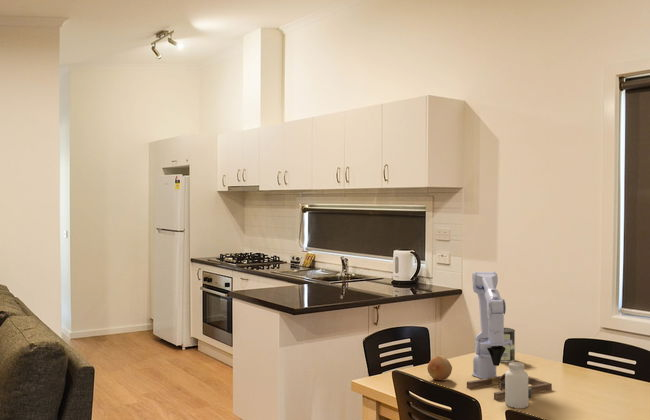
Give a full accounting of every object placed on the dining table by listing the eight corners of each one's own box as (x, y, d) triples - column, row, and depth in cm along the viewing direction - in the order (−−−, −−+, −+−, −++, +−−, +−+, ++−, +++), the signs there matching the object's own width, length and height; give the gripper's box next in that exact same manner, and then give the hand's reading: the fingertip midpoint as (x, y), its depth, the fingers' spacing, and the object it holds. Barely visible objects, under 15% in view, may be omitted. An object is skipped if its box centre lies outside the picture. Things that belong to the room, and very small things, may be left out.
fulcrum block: (523, 397, 229) (523, 388, 229) (523, 395, 231) (523, 386, 231) (531, 398, 228) (531, 389, 228) (531, 395, 231) (531, 387, 231)
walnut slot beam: (466, 387, 241) (466, 381, 241) (519, 378, 253) (519, 372, 253) (496, 400, 226) (496, 393, 226) (551, 389, 238) (551, 383, 238)
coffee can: (506, 356, 290) (506, 326, 290) (519, 361, 280) (519, 331, 280) (487, 357, 287) (487, 328, 287) (499, 363, 277) (499, 332, 277)
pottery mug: (530, 396, 232) (521, 378, 230) (507, 405, 234) (498, 388, 233) (524, 379, 244) (515, 362, 242) (502, 388, 246) (493, 371, 244)
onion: (453, 383, 246) (453, 359, 246) (428, 383, 248) (428, 358, 247) (451, 377, 256) (451, 353, 256) (426, 376, 257) (426, 352, 257)
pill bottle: (501, 402, 223) (501, 361, 223) (521, 400, 225) (521, 360, 224) (511, 409, 216) (511, 367, 215) (532, 408, 217) (532, 366, 217)
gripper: (488, 334, 230) (488, 370, 231) (517, 330, 237) (517, 365, 237) (476, 330, 237) (476, 365, 237) (505, 327, 243) (505, 361, 243)
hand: (496, 365), depth 237 cm, fingers closed
